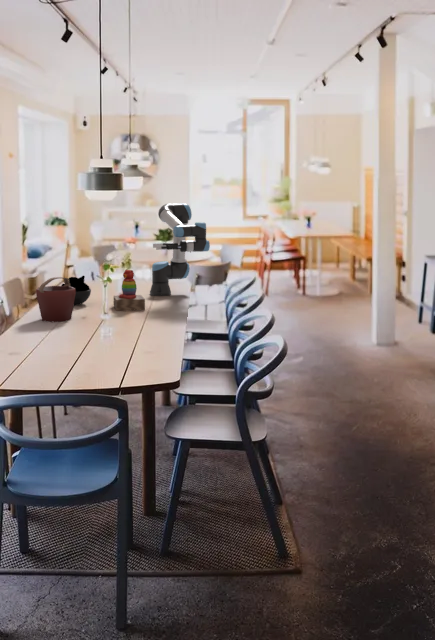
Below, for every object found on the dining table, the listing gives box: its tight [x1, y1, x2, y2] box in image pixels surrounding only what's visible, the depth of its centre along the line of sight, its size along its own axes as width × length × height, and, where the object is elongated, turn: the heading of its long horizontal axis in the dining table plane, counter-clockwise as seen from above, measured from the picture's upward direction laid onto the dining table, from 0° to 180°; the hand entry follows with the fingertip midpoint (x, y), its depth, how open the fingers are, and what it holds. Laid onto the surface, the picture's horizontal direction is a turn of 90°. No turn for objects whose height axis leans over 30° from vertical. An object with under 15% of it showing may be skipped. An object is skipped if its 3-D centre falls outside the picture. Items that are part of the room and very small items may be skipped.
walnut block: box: [113, 294, 146, 312], centre depth 508 cm, size 18×18×7 cm
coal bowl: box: [60, 275, 92, 306], centre depth 519 cm, size 20×20×19 cm
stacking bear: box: [118, 269, 137, 299], centre depth 506 cm, size 11×10×18 cm
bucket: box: [35, 276, 76, 323], centre depth 466 cm, size 24×22×25 cm
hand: (154, 246), depth 521 cm, fingers open, 13 cm apart
